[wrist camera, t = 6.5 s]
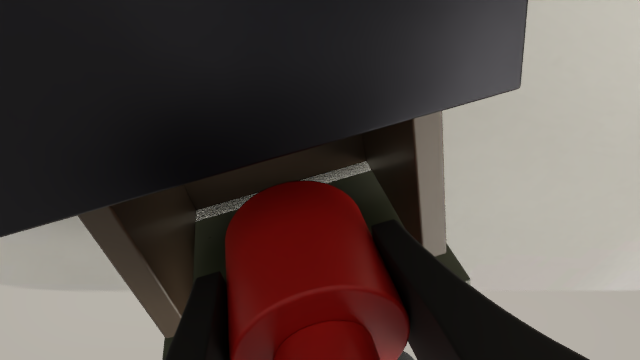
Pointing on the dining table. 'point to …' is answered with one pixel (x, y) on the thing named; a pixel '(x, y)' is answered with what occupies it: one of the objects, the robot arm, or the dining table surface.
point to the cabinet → (221, 86)
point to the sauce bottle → (309, 280)
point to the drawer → (209, 234)
